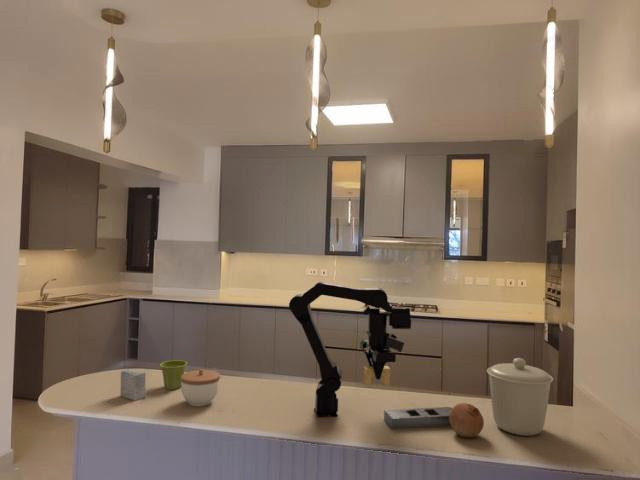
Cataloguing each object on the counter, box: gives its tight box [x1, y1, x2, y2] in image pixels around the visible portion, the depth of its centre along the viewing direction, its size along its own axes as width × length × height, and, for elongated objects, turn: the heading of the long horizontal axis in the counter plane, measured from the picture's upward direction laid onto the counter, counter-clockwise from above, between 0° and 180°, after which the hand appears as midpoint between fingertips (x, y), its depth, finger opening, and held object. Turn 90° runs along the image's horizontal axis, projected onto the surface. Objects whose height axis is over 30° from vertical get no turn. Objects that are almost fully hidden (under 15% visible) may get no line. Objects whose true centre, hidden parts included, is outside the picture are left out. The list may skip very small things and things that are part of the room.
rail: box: [383, 406, 453, 430], centre depth 136 cm, size 22×7×3 cm, turn 100°
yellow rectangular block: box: [362, 365, 391, 387], centre depth 140 cm, size 8×3×5 cm, turn 100°
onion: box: [449, 402, 485, 438], centre depth 128 cm, size 10×9×10 cm
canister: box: [486, 357, 554, 437], centre depth 133 cm, size 18×18×21 cm
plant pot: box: [159, 359, 188, 391], centre depth 163 cm, size 9×9×9 cm
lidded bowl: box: [181, 368, 221, 407], centre depth 148 cm, size 13×13×11 cm
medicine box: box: [120, 368, 147, 401], centre depth 152 cm, size 8×4×9 cm, turn 58°
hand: (376, 377), depth 140 cm, fingers closed on yellow rectangular block, 3 cm apart
